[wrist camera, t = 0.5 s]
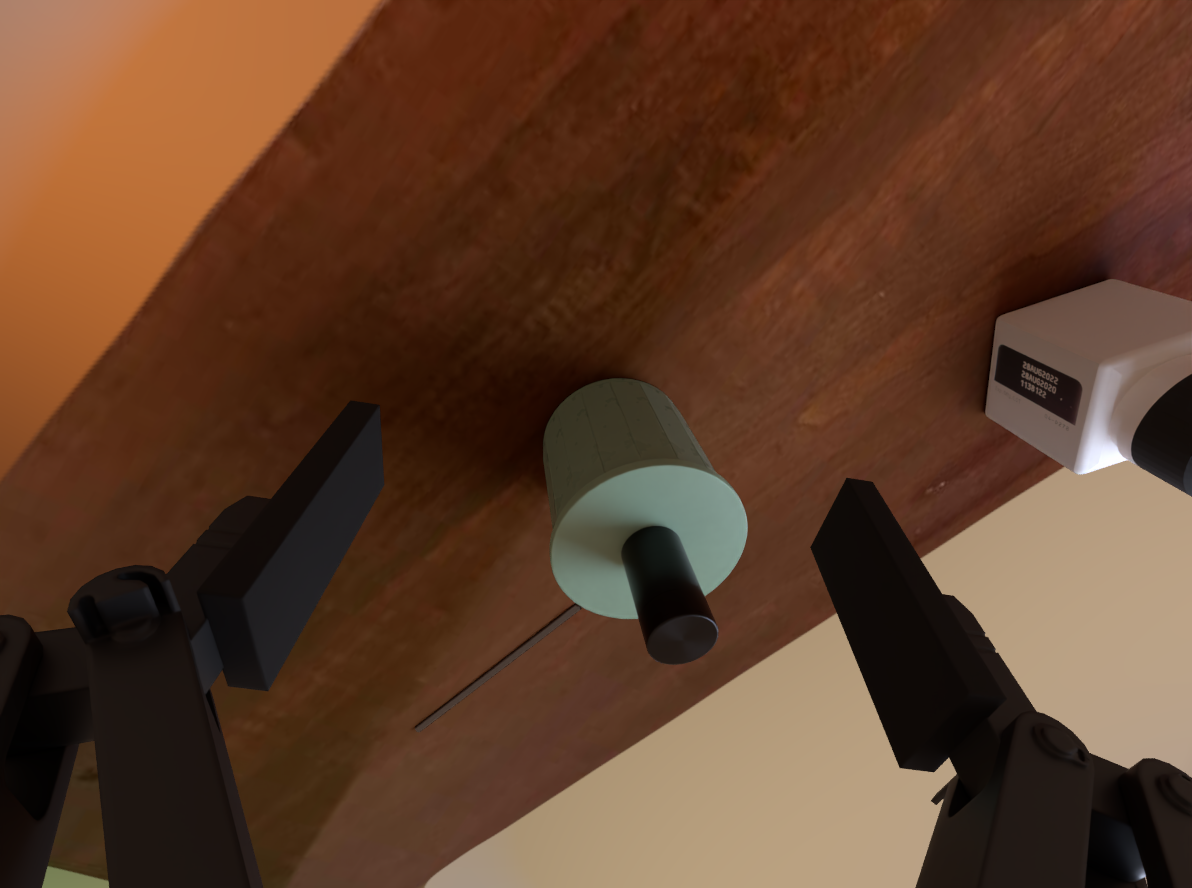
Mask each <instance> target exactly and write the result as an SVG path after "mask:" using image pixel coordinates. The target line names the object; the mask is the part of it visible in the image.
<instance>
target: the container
mask: <svg viewBox="0 0 1192 888" xmlns="http://www.w3.org/2000/svg"><path fill="white" fill-rule="evenodd" d="M985 415H986V416H987V417H989V418H990V419H992V420H993V421H995V422H996V423H998V424H1000V425H1001V426H1003V427H1004V428H1006V429H1007V430H1009V431H1010V432H1012V433H1014V434H1015V435H1017V436H1018V437H1020V438H1021V439H1023V440H1024V441H1026V442H1027V443H1029V444H1031V445H1032V446H1034V447H1035V448H1037V449H1038V450H1040V451H1041V452H1043V453H1045V454H1046V455H1048V456H1049V457H1051V458H1052V459H1054V460H1055V461H1057V462H1059V463H1060V464H1062V465H1063V466H1065V467H1066V468H1068V469H1070V470H1071V471H1073V472H1074V473H1076V474H1085V473H1088V472H1092V471H1095V470H1098V469H1101V468H1104V467H1107V466H1110V465H1113V464H1116V463H1119V462H1122V461H1125V460H1128V461H1130V462H1132V463H1134V464H1135V465H1137V466H1139V467H1141V468H1142V469H1144V470H1146V471H1148V472H1150V473H1151V474H1153V475H1155V476H1156V477H1158V478H1160V479H1162V480H1163V481H1165V482H1167V483H1169V484H1171V485H1172V486H1174V487H1176V488H1178V489H1179V490H1181V491H1183V492H1185V493H1186V494H1188V495H1190V496H1192V301H1188V300H1185V299H1181V298H1178V297H1175V296H1171V295H1168V294H1164V293H1161V292H1157V291H1154V290H1150V289H1147V288H1144V287H1140V286H1137V285H1133V284H1130V283H1126V282H1123V281H1120V280H1116V279H1109V280H1106V281H1103V282H1100V283H1097V284H1094V285H1091V286H1088V287H1085V288H1082V289H1079V290H1076V291H1073V292H1070V293H1066V294H1063V295H1060V296H1057V297H1054V298H1051V299H1048V300H1045V301H1042V302H1039V303H1036V304H1033V305H1030V306H1027V307H1024V308H1021V309H1018V310H1015V311H1012V312H1009V313H1006V314H1003V315H1001V316H999V317H998V318H997V320H996V326H995V334H994V343H993V351H992V359H991V368H990V376H989V384H988V393H987V401H986V409H985Z"/></svg>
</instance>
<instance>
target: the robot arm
mask: <svg viewBox="0 0 1192 888" xmlns="http://www.w3.org/2000/svg"><path fill="white" fill-rule="evenodd" d="M383 486H384V474H383V456H382V438H381V421H380V405H377V404H370V403H364V402H358V401H350V402H349V403H348V404H347V406H346V407H345V408H344V409H343V411H342V412H341V413H340V414H339V416H338V417H337V418H336V419H335V420H334V422H333V423H332V424H331V425H330V427H329V428H328V429H327V430H326V432H325V433H324V434H323V435H322V437H321V438H320V439H319V440H318V442H317V443H316V444H315V445H314V446H313V448H312V449H311V450H310V451H309V453H308V454H307V455H306V456H305V458H304V459H303V460H302V461H301V463H300V464H299V465H298V466H297V468H296V469H295V470H294V471H293V472H292V474H291V475H290V476H289V477H288V479H287V480H286V481H285V482H284V484H283V485H282V486H281V487H280V489H279V490H278V491H277V492H276V494H275V495H274V496H273V497H272V499H267V498H260V497H253V496H246V497H244V498H243V499H241V500H239V501H238V502H236V503H234V504H233V505H231V506H229V507H228V508H226V509H224V510H223V512H222V513H221V514H220V515H219V516H218V517H217V518H216V519H215V521H214V522H213V523H212V524H211V525H210V526H209V530H206V531H205V532H204V533H203V534H202V535H201V536H200V537H199V538H198V540H197V543H196V544H193V545H192V546H191V547H190V548H189V550H188V551H187V552H186V553H185V554H184V555H183V556H182V557H181V559H180V560H179V561H178V562H177V563H176V564H175V565H174V566H173V567H172V569H171V570H170V571H169V572H168V573H167V574H165V573H164V571H162V570H160V569H158V568H155V567H153V566H142V565H133V566H128V567H122V568H117V569H114V570H112V571H109V572H107V573H104V574H102V575H99V576H97V577H95V578H94V579H92V580H91V581H89V582H88V583H86V584H85V585H83V586H82V587H81V588H80V589H79V590H78V591H77V592H76V594H75V595H74V596H73V597H72V598H71V599H70V603H69V607H68V611H67V612H68V614H69V616H70V618H71V619H72V621H73V623H74V625H75V627H74V628H66V629H58V630H50V631H42V632H34V631H33V629H32V627H31V626H30V625H29V624H28V623H27V622H26V621H25V619H24V618H21V617H17V616H13V615H0V888H42V885H43V881H44V877H45V873H46V869H47V866H48V862H49V858H50V854H51V850H52V846H53V843H54V839H55V835H56V831H57V827H58V823H59V820H60V816H61V812H62V808H63V804H64V800H65V797H66V793H67V789H68V785H69V781H70V777H71V774H72V770H73V766H74V762H75V758H76V754H77V751H78V747H79V743H84V742H90V741H95V750H96V760H97V769H98V779H99V789H100V799H101V809H102V819H103V829H104V839H105V849H106V859H107V869H108V879H109V888H263V885H262V881H261V877H260V873H259V869H258V866H257V862H256V858H255V854H254V851H253V847H252V843H251V839H250V835H249V832H248V828H247V824H246V820H245V817H244V813H243V809H242V805H241V801H240V798H239V794H238V790H237V786H236V783H235V779H234V775H233V771H232V767H231V764H230V760H229V756H228V752H227V748H226V745H225V741H224V737H223V733H222V730H221V726H220V722H219V718H218V714H217V711H216V707H215V703H214V699H213V696H212V693H211V690H210V687H211V686H212V684H213V683H214V681H215V680H216V678H217V677H218V675H219V674H220V672H221V671H222V670H223V672H224V675H225V678H226V681H227V684H228V686H230V687H238V688H246V689H255V690H263V691H268V690H269V689H270V687H271V685H272V683H273V682H274V680H275V678H276V676H277V674H278V673H279V671H280V669H281V667H282V665H283V664H284V662H285V660H286V658H287V657H288V655H289V653H290V651H291V649H292V648H293V646H294V644H295V642H296V641H297V639H298V637H299V635H300V633H301V632H302V630H303V628H304V626H305V625H306V623H307V621H308V619H309V617H310V616H311V614H312V612H313V610H314V609H315V607H316V605H317V603H318V601H319V600H320V598H321V596H322V594H323V593H324V591H325V589H326V587H327V585H328V584H329V582H330V580H331V578H332V577H333V575H334V573H335V571H336V569H337V568H338V566H339V564H340V562H341V561H342V559H343V557H344V555H345V553H346V552H347V550H348V548H349V546H350V545H351V543H352V541H353V539H354V537H355V536H356V534H357V532H358V530H359V529H360V527H361V525H362V523H363V521H364V520H365V518H366V516H367V514H368V513H369V511H370V509H371V507H372V505H373V504H374V502H375V500H376V498H377V497H378V495H379V493H380V491H381V489H382V488H383ZM810 548H811V550H812V553H813V555H814V557H815V560H816V562H817V565H818V567H819V570H820V572H821V575H822V577H823V580H824V582H825V585H826V587H827V590H828V592H829V594H830V597H831V599H832V602H833V604H834V607H835V609H836V612H837V614H838V617H839V619H840V622H841V624H842V627H843V629H844V631H845V634H846V636H847V639H848V641H849V644H850V646H851V649H852V651H853V654H854V656H855V659H856V661H857V664H858V666H859V668H860V671H861V673H862V676H863V678H864V681H865V683H866V686H867V688H868V691H869V693H870V695H871V698H872V700H873V703H874V705H875V708H876V710H877V713H878V715H879V718H880V720H881V723H882V725H883V728H884V730H885V732H886V735H887V737H888V740H889V742H890V745H891V747H892V750H893V752H894V755H895V757H896V760H897V762H898V765H899V767H900V768H904V769H912V770H920V771H928V772H935V771H936V770H937V769H938V768H939V767H940V765H942V764H943V763H944V761H946V760H947V759H948V758H950V760H951V762H952V764H953V766H954V768H955V770H956V772H957V775H956V776H955V777H954V778H952V779H951V780H950V781H949V782H948V783H947V784H946V785H945V786H944V787H943V788H942V789H941V790H940V791H939V792H938V793H937V794H936V795H935V796H934V798H933V799H932V800H931V801H932V802H933V803H934V804H936V805H937V804H938V803H939V802H940V801H941V800H942V799H944V801H943V804H942V807H941V810H940V813H939V816H938V819H937V822H936V825H935V829H934V832H933V835H932V838H931V841H930V844H929V847H928V850H927V854H926V857H925V860H924V863H923V866H922V869H921V873H920V876H919V878H918V882H917V885H916V888H1192V778H1191V777H1189V776H1188V775H1187V774H1186V773H1184V772H1183V771H1181V770H1179V769H1177V768H1176V767H1174V766H1172V765H1171V764H1169V763H1166V762H1163V761H1160V760H1158V759H1155V758H1154V759H1153V758H1151V759H1150V758H1148V759H1147V758H1146V759H1142V760H1141V761H1139V762H1138V763H1137V764H1135V765H1134V766H1133V767H1131V768H1130V769H1127V768H1125V767H1122V766H1120V765H1118V764H1115V763H1113V762H1110V761H1108V760H1105V759H1103V758H1101V757H1098V756H1096V755H1093V754H1091V753H1089V751H1088V750H1087V748H1086V746H1085V745H1084V744H1083V743H1082V742H1081V740H1080V739H1079V738H1078V737H1077V736H1076V735H1075V734H1074V733H1073V732H1072V731H1071V730H1070V729H1068V728H1067V727H1065V726H1064V725H1063V724H1062V723H1060V722H1059V721H1057V720H1055V719H1053V718H1052V717H1050V716H1048V715H1045V714H1043V713H1039V712H1037V711H1036V710H1035V709H1034V707H1033V705H1032V704H1031V702H1030V701H1029V699H1028V698H1027V697H1026V695H1025V693H1024V692H1023V690H1022V689H1021V687H1020V686H1019V684H1018V683H1017V681H1016V679H1015V678H1014V676H1013V675H1012V674H1011V672H1010V670H1009V669H1008V667H1007V666H1006V664H1005V663H1004V661H1003V660H1002V658H1001V657H1000V655H999V653H996V652H995V647H994V646H993V644H992V643H991V641H990V640H989V638H988V637H985V632H984V631H983V629H982V627H981V626H980V624H979V623H978V621H977V620H976V618H975V617H974V615H973V614H972V613H971V612H970V611H969V610H968V609H967V608H966V607H965V606H964V605H963V604H962V603H961V602H959V601H958V600H957V599H956V598H955V597H954V596H951V595H945V594H942V593H941V591H940V590H939V588H938V587H937V585H936V583H935V582H934V580H933V579H932V577H931V576H930V574H929V572H928V571H927V569H926V567H925V566H924V564H923V563H922V561H921V559H920V558H919V556H918V554H917V553H916V551H915V550H914V548H913V546H912V545H911V543H910V542H909V540H908V538H907V537H906V535H905V534H904V532H903V530H902V529H901V527H900V525H899V524H898V522H897V521H896V519H895V517H894V516H893V514H892V513H891V511H890V509H889V508H888V506H887V505H886V503H885V501H884V500H883V498H882V496H881V495H880V493H879V492H878V490H877V488H876V487H875V485H874V484H873V482H870V481H864V480H857V479H851V478H846V480H845V482H844V484H843V486H842V488H841V490H840V492H839V494H838V496H837V497H836V499H835V501H834V503H833V505H832V507H831V509H830V511H829V513H828V515H827V517H826V519H825V520H824V522H823V524H822V526H821V528H820V530H819V532H818V534H817V536H816V538H815V540H814V542H813V543H812V545H811V547H810ZM1145 876H1146V879H1147V884H1146V880H1145ZM1147 885H1148V887H1147Z"/></svg>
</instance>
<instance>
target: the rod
mask: <svg viewBox="0 0 1192 888" xmlns="http://www.w3.org/2000/svg"><path fill="white" fill-rule="evenodd" d="M579 610H581V606H580V605H578V604H576V603H575V604H574V605H572V606H571V607H570V608H569V609H567V610H566V611H565V612H563V613H562V614H561V615H559V616H558V617H557V618H556V619H554V620H553V621H552V622H550V623H549V624H548V625H546V626H545V627H544V628H543V629H541V630H540V631H539V632H537V633H536V634H535V635H534V636H532V637H531V638H530V639H528V640H527V641H526V642H524V643H523V644H522V645H521V646H519V647H518V648H517V649H515V650H514V651H513V652H511V653H510V654H509V655H508V656H506V657H505V658H504V659H502V660H501V661H500V662H498V663H497V664H496V665H495V666H493V667H492V668H491V669H489V670H488V671H487V672H485V673H484V674H483V675H482V676H480V677H479V678H478V679H476V680H475V681H474V682H473V683H471V684H470V685H469V686H467V687H466V688H465V689H463V690H462V691H461V692H460V693H458V694H457V695H456V696H454V697H453V698H452V699H450V700H449V701H448V702H447V703H445V704H444V705H443V706H441V707H440V708H439V709H438V710H436V711H435V712H434V713H432V714H431V715H430V716H428V717H427V718H426V719H425V720H423V721H422V722H421V723H419V724H418V725H417V726H415V730H416V731H417V732H421V731H422V730H423V729H425V728H426V727H427V726H429V725H430V724H431V723H433V722H434V721H435V720H436V719H438V718H439V717H440V716H442V715H443V714H444V713H446V712H447V711H448V710H450V709H451V708H452V707H454V706H455V705H456V704H457V703H459V702H460V701H461V700H463V699H464V698H465V697H467V696H468V695H469V694H471V693H472V692H473V691H475V690H476V689H477V688H478V687H480V686H481V685H482V684H484V683H485V682H486V681H488V680H489V679H490V678H492V677H493V676H494V675H496V674H497V673H498V672H499V671H501V670H502V669H503V668H505V667H506V666H507V665H509V664H510V663H511V662H513V661H514V660H515V659H517V658H518V657H519V656H520V655H522V654H523V653H524V652H526V651H527V650H528V649H530V648H531V647H532V646H534V645H535V644H536V643H538V642H539V641H540V640H541V639H543V638H544V637H545V636H547V635H548V634H549V633H551V632H552V631H553V630H555V629H556V628H557V627H559V626H560V625H561V624H562V623H564V622H565V621H566V620H568V619H569V618H570V617H572V616H573V615H574V614H576V613H577V612H578V611H579Z"/></svg>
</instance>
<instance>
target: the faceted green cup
mask: <svg viewBox="0 0 1192 888" xmlns="http://www.w3.org/2000/svg"><path fill="white" fill-rule="evenodd" d="M663 458H666V459H679V460H685V461H690V462H693V463H696V464H699V465H702V466H704V467H707V468H709V469H711V470H713V471H714V472H715V470H714V468H713V467H712V465H711V463H710V462H709V460H708V458H707V457H706V455H705V453H704V452H703V450H702V448H701V447H700V445H699V443H698V442H697V440H696V438H695V437H694V435H693V433H692V431H691V430H690V428H689V426H688V425H687V423H686V421H685V420H684V418H683V416H682V415H681V413H680V411H679V410H678V409H677V408H676V407H675V405H674V404H673V403H672V401H671V400H670V399H669V398H668V397H667V396H666V395H665V394H664V393H663V392H662V391H660V390H659V389H657V388H656V387H654V386H652V385H650V384H648V383H645V382H642V381H638V380H634V379H625V378H614V379H607V380H601V381H598V382H594V383H592V384H589V385H587V386H584V387H583V388H581V389H579V390H577V391H575V392H574V393H573V394H571V395H570V396H569V397H567V398H566V399H565V400H564V401H563V402H562V403H561V404H560V405H559V406H558V408H557V409H556V410H555V411H554V413H553V415H552V416H551V418H550V420H549V422H548V424H547V427H546V430H545V433H544V440H543V462H544V469H545V476H546V483H547V491H548V498H549V505H550V512H551V519H552V527H553V528H554V525H555V523H556V521H557V519H558V517H559V515H560V513H561V511H562V510H563V508H564V507H565V506H566V504H567V503H568V502H569V501H570V500H571V498H572V497H573V496H574V495H575V494H576V493H577V492H578V491H579V490H581V489H582V488H583V487H584V486H585V485H587V484H588V483H589V482H591V481H592V480H594V479H595V478H597V477H599V476H600V475H602V474H604V473H606V472H608V471H610V470H612V469H615V468H617V467H620V466H623V465H626V464H629V463H633V462H637V461H643V460H649V459H663Z"/></svg>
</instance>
